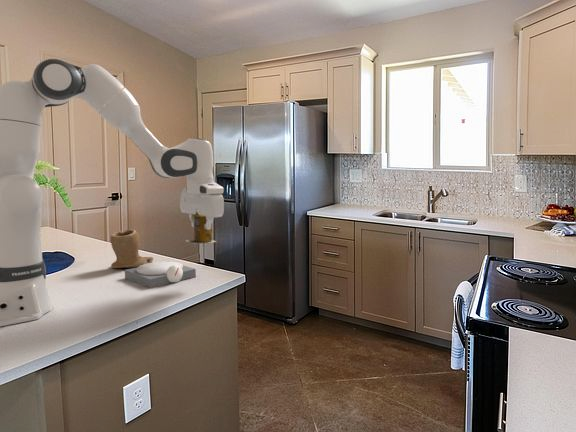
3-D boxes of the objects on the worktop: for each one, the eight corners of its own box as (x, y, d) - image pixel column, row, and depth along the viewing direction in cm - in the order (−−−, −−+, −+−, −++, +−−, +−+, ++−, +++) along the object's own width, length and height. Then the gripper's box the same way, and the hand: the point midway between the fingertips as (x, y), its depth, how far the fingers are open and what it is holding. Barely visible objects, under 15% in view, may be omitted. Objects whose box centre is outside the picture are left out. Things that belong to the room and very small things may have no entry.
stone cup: (107, 271, 167) (104, 233, 165) (115, 264, 179) (113, 228, 177) (148, 270, 169) (146, 232, 167) (153, 263, 181) (152, 227, 179)
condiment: (216, 242, 148) (216, 206, 147) (193, 244, 144) (192, 208, 142) (208, 238, 154) (207, 205, 153) (185, 241, 150) (184, 206, 148)
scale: (152, 288, 145) (151, 270, 145) (125, 278, 158) (124, 261, 158) (197, 277, 158) (197, 260, 158) (168, 268, 172) (168, 253, 171)
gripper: (175, 186, 151) (176, 225, 153) (211, 189, 137) (212, 232, 139) (190, 185, 156) (191, 224, 158) (227, 188, 142) (227, 230, 144)
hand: (201, 228), depth 148 cm, fingers closed on condiment, 6 cm apart
